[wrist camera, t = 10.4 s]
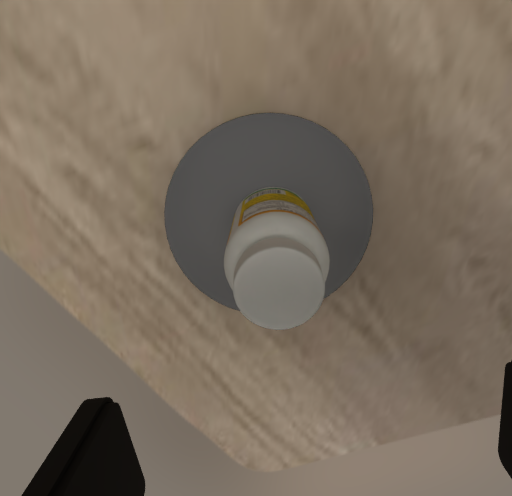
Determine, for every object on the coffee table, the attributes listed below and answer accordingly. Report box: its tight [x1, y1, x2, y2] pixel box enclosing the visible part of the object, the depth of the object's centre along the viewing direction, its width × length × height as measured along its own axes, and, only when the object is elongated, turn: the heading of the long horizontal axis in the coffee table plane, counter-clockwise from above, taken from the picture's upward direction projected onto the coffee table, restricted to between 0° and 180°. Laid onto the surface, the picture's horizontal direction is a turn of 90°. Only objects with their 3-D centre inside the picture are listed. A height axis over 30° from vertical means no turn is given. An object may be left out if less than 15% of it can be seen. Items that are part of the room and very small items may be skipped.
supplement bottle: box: [224, 187, 330, 330], centre depth 20 cm, size 5×5×10 cm
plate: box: [164, 113, 373, 311], centre depth 25 cm, size 14×14×1 cm
